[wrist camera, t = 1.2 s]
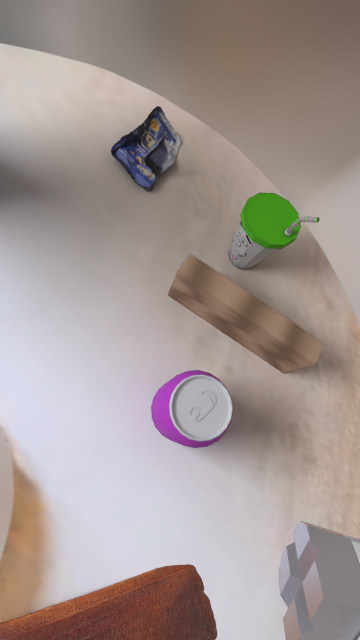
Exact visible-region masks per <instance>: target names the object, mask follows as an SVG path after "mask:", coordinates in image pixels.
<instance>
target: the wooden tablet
mask: <svg viewBox="0 0 360 640" xmlns="http://www.w3.org/2000/svg"><path fill="white" fill-rule="evenodd" d="M216 635H217V632H216V624H215V620H214V616H213V611H212V609H211V604H210V600H209V598H208V597H207V596H206V594H205V593H204V585H203V582H202V579H201V577H200V576H199V574H198V573H197V571H196V568H195V567H194V566H193V565H188V564H187V565H174V566H164V567H161V568H156V569H154V570H151V571H149V572H146V573H143V574H141V575H138V576H135V577H132V578H130V579H127V580H124V581H122V582H119V583H116V584H114V585H112V586H109V587H106V588H103V589H100V590H98V591H94V592H92V593H89V594H86V595H84V596H80V597H77V598H74V599H72V600H69V601H66V602H63V603H60V604H57V605H53V606H50V607H47V608H45V609H43V610H40V611H37V612H34V613H31V614H28V615H25V616H23V617H19V618H17V619H13V620H10V621H7V622H4V623H0V640H215V639H216Z"/></svg>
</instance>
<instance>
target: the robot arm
mask: <svg viewBox="0 0 360 640" xmlns="http://www.w3.org/2000/svg"><path fill="white" fill-rule="evenodd" d="M293 534H294V540H295V543H292V544H290V545H288V546H286V548H285V550H284V553H283V555H282V557H281V563H280V568H279V587H280V595H281V597H282V598H283V600H284V602H285V603H286V605H287V606H288V610H287V612H286V614H285V616H284V618H283V621H284V629H285V636H286V640H360V540H359V539H356V538H353V537H350V536H345V535H343V534H340V533H337V532H334V531H331V530H328V529H325V528H322V527H319V526H316V525H312V524H309V523H306V522H303V521H301V522H300V523H299V524H297V526H296V528H295V530H294V532H293Z"/></svg>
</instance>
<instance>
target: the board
mask: <svg viewBox="0 0 360 640" xmlns="http://www.w3.org/2000/svg"><path fill="white" fill-rule="evenodd" d="M168 296H170V297H171V298H173V299H174V300H176V301H177V302H179V303H180V304H182V305H183V306H185V307H186V308H188V309H189V310H191V311H192V312H194V313H195V314H197V315H198V316H200V317H201V318H202V319H204V320H205V321H207V322H208V323H210V324H211V325H213V326H214V327H216V328H217V329H219V330H220V331H222V332H223V333H225V334H226V335H228V336H229V337H231V338H232V339H234V340H235V341H237V342H238V343H240V344H241V345H242V346H244V347H245V348H247V349H248V350H250V351H251V352H253V353H254V354H256V355H257V356H259V357H260V358H262V359H263V360H265V361H266V362H268V363H269V364H271V365H272V366H274V367H275V368H277V369H278V370H280V371H281V372H282V373H285V372H289V371H293V370H297V369H300V368H304V367H308V366H311V365H315V364H316V362H317V360H318V358H319V356H320V354H321V352H322V350H323V347H324V345H325V344H324V343H322V342H321V341H319V340H318V339H316V338H315V337H313V336H312V335H311V334H309V333H308V332H306V331H305V330H303V329H302V328H300V327H299V326H297V325H296V324H294V323H293V322H291V321H290V320H288V319H287V318H285V317H284V316H282V315H281V314H279V313H278V312H276V311H275V310H273V309H272V308H270V307H269V306H267V305H266V304H264V303H263V302H262V301H260V300H259V299H257V298H256V297H254V296H253V295H251V294H250V293H248V292H247V291H245V290H244V289H242V288H241V287H239V286H238V285H236V284H235V283H233V282H232V281H230V280H229V279H227V278H226V277H224V276H223V275H221V274H220V273H218V272H217V271H215V270H214V269H213V268H211V267H210V266H208V265H207V264H205V263H204V262H202V261H201V260H199V259H198V258H196V257H195V256H193V255H192V254H190V255H189V256H188V258H187V259H186V260H185V262H184V263H183V265H182V266H181V267H180V269H179V270H178V272H177V274H176V276H175V279H174V281H173V283H172V286H171V288H170V291H169V293H168Z"/></svg>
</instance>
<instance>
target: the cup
mask: <svg viewBox="0 0 360 640" xmlns="http://www.w3.org/2000/svg"><path fill="white" fill-rule="evenodd" d="M303 221H304V222H318V221H319V218H318V217H300V218H299V216H298V212H297V211H296V210H295V208H294V207H293V206H292V205H291V203H290V202H289V201H288V200H286V199H284V198H282V197H281V196H279V195H277V194H275V193H259V194H257V195H255V196H253V197H251V198H249V199H248V201H247V202H246V204H245V206H244V208H243V210H242V212H241V223H240V225H239V228H238V230H237V233H236V235H235V238H234V240H233V243H232V246H231V248H230V251H229V259H230V261H231V262H232V263H233V265H234V266H236V267H238V268H239V269H250V268H251V267H253V266H254V265H256V264H257V263H259V262H260V261H261V260H263V259H264V258H266V257H267V256H268V255H270V254H271V253H273V252H274V251H275V250H277V249H282V248H283V247H285V246H287V245H288V244H290V243H292V242H293V241H294V240H295V239H296V237H297V234H298V232H299V230H300V227H301V226H300V222H303Z"/></svg>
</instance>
